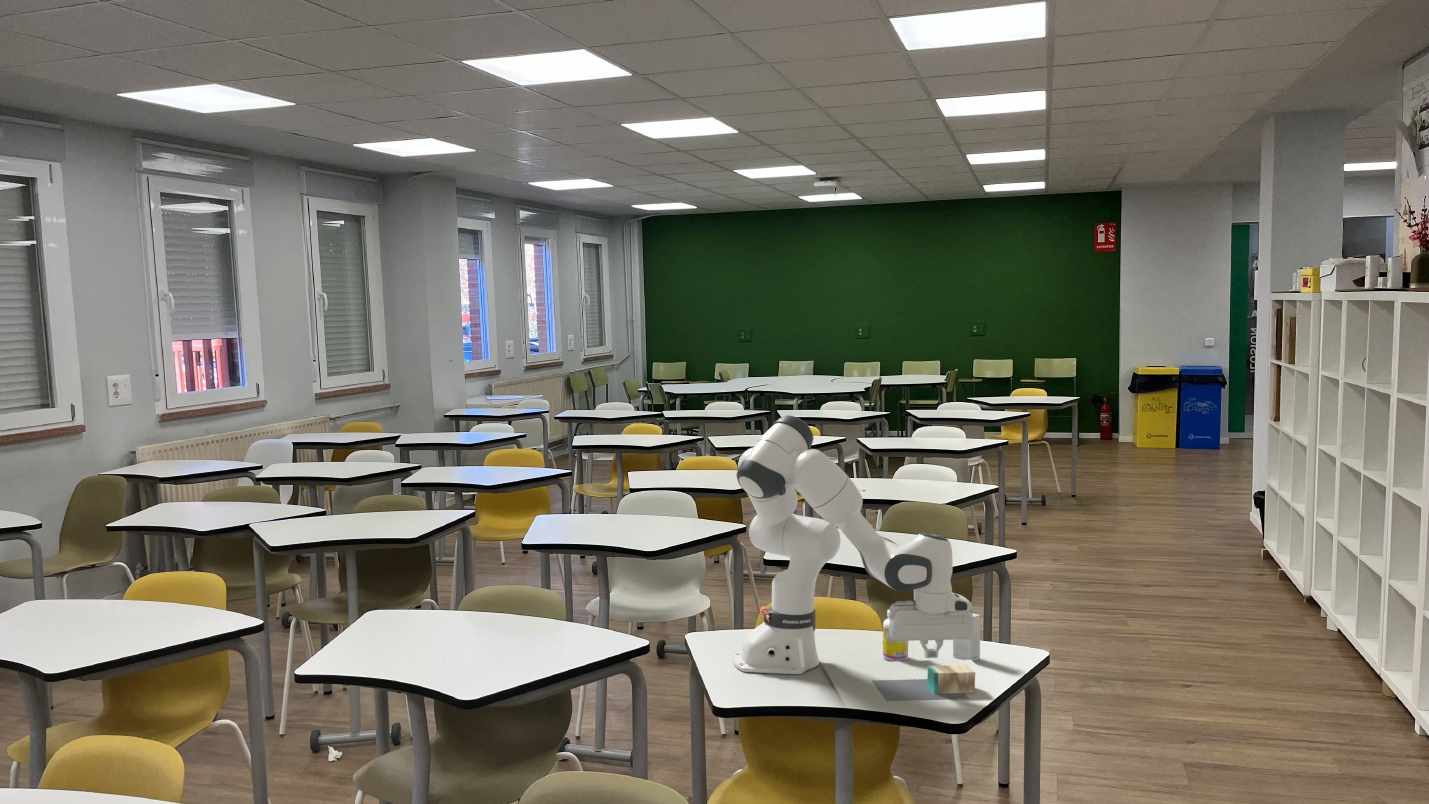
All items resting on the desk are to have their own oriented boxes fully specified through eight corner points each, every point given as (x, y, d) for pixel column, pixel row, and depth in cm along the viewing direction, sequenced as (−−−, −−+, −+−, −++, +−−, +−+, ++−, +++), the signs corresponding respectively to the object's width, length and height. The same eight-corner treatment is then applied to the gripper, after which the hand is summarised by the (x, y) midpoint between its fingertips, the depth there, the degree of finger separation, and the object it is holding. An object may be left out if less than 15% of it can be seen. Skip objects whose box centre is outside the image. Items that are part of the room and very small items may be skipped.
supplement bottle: (889, 652, 262) (890, 605, 260) (911, 657, 258) (913, 610, 257) (878, 659, 256) (879, 611, 255) (901, 664, 252) (902, 616, 251)
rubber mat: (886, 705, 225) (886, 700, 225) (872, 684, 238) (872, 680, 238) (969, 702, 227) (969, 698, 227) (950, 682, 240) (950, 678, 240)
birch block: (934, 673, 229) (975, 672, 230) (927, 665, 234) (967, 664, 235) (933, 693, 230) (974, 692, 231) (927, 685, 235) (967, 684, 236)
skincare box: (980, 659, 257) (982, 614, 256) (970, 663, 254) (971, 617, 253) (961, 653, 261) (962, 609, 261) (951, 656, 259) (952, 612, 258)
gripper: (893, 605, 226) (892, 662, 227) (978, 603, 228) (976, 660, 229) (886, 597, 232) (884, 653, 233) (968, 596, 234) (967, 651, 235)
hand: (930, 657), depth 231 cm, fingers closed
